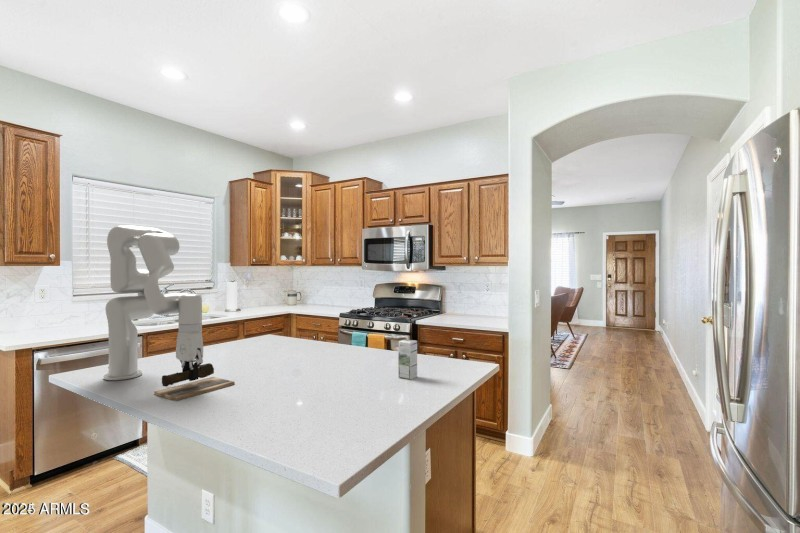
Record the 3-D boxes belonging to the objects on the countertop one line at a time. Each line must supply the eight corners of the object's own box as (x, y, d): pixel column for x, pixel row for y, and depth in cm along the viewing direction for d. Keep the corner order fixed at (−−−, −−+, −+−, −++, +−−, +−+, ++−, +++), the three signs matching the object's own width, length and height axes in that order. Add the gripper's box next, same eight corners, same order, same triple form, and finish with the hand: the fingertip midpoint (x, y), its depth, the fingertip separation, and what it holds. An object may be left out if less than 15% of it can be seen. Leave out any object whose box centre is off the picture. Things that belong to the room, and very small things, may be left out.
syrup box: (417, 376, 162) (417, 340, 162) (410, 380, 157) (410, 342, 157) (405, 374, 165) (405, 338, 165) (397, 377, 160) (397, 341, 160)
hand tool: (167, 388, 138) (167, 374, 138) (160, 386, 140) (160, 372, 140) (218, 375, 154) (218, 363, 154) (211, 374, 156) (211, 361, 156)
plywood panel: (154, 394, 139) (154, 390, 139) (212, 379, 158) (212, 376, 158) (175, 400, 132) (175, 396, 132) (234, 384, 151) (234, 380, 151)
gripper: (167, 328, 148) (167, 378, 148) (194, 331, 139) (194, 385, 139) (187, 325, 154) (187, 374, 154) (213, 328, 146) (214, 380, 146)
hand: (190, 378), depth 147 cm, fingers closed on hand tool, 3 cm apart
